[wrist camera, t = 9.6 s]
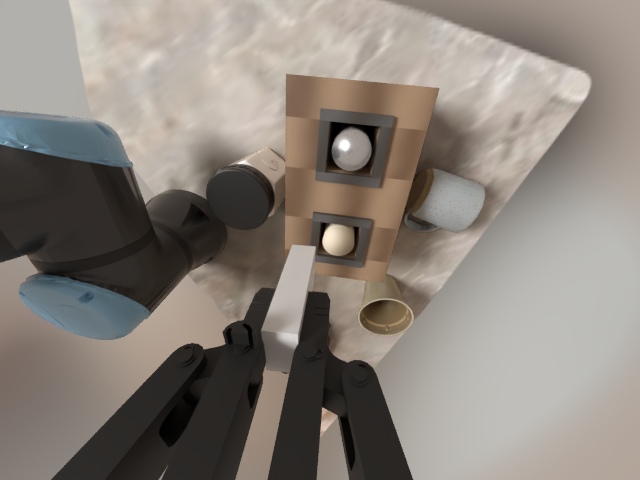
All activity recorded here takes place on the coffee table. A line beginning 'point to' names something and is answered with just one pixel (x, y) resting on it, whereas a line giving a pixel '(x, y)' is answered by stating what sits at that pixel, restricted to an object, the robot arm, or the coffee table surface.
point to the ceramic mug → (443, 201)
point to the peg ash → (338, 239)
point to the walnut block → (351, 186)
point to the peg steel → (351, 147)
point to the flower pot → (384, 309)
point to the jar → (248, 190)
